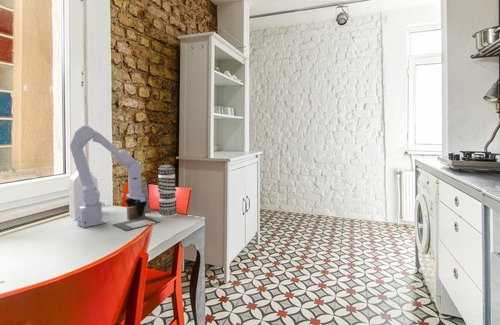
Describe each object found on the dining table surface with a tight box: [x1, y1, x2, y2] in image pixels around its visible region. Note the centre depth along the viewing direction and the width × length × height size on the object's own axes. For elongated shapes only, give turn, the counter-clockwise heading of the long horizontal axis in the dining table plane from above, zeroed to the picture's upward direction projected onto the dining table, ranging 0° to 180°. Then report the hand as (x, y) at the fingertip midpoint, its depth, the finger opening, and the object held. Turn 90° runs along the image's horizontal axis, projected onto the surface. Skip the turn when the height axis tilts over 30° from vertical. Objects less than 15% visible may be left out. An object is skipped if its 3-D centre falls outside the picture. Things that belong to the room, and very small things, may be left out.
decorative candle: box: [156, 164, 178, 218], centre depth 145 cm, size 9×9×25 cm
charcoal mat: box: [112, 216, 161, 232], centre depth 132 cm, size 16×13×1 cm
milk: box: [68, 170, 99, 221], centre depth 147 cm, size 12×12×26 cm
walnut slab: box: [126, 206, 146, 221], centre depth 141 cm, size 8×2×6 cm, turn 138°
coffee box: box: [127, 179, 151, 213], centre depth 155 cm, size 9×6×16 cm
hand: (136, 214), depth 141 cm, fingers open, 7 cm apart
